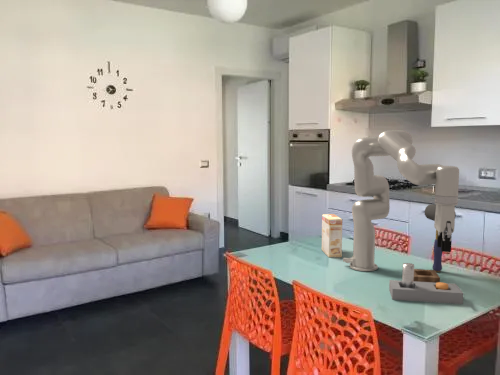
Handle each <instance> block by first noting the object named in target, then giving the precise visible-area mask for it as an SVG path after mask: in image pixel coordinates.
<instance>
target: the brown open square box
mask: <svg viewBox="0 0 500 375" xmlns="http://www.w3.org/2000/svg"><path fill="white" fill-rule="evenodd" d="M414 281H416V282H434V283H437V282H441V277H440V276H439V274H438V272H436V271H435V270H433V269H423V268H422V269H421V268H414Z"/></svg>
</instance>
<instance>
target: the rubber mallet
mask: <svg viewBox="0 0 500 375" xmlns="http://www.w3.org/2000/svg"><path fill="white" fill-rule="evenodd" d="M436 205H437V204H433V203H432V204H428V205H427V206H426V207H425V209H424V216H425V217H426V219H428V220H431V221H432V222H433V221H434V222H435V212H436ZM456 216H457V213H456V212H455V218H456ZM437 237H438V231H437V230H436V229H435V239H434V242H433V243H434V244H433V263H432V264H433V265H432V270H435V271H436V273H440V272H441V271H442V270H443V265H442V260H443V259H442V256H443V252H442V251H441V247H437Z"/></svg>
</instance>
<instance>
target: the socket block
mask: <svg viewBox="0 0 500 375" xmlns="http://www.w3.org/2000/svg"><path fill="white" fill-rule="evenodd" d="M446 283H447V284H448V290H441V289H436V283H434V282H416V281H414V286H413V288H402V280H395V279H389V282H388V284H389V285H388V286H389V288H388V292H389V294H390V297H391V300H395V301H409V302H410V301H411V302H423V303H424V302H425V303H440V304H451V305H452V304H453V305H454V304H455V305H463V304H464V292H463V291H462V289H461V288H460V287H459V286H458V285H457V283H449V282H446Z"/></svg>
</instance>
